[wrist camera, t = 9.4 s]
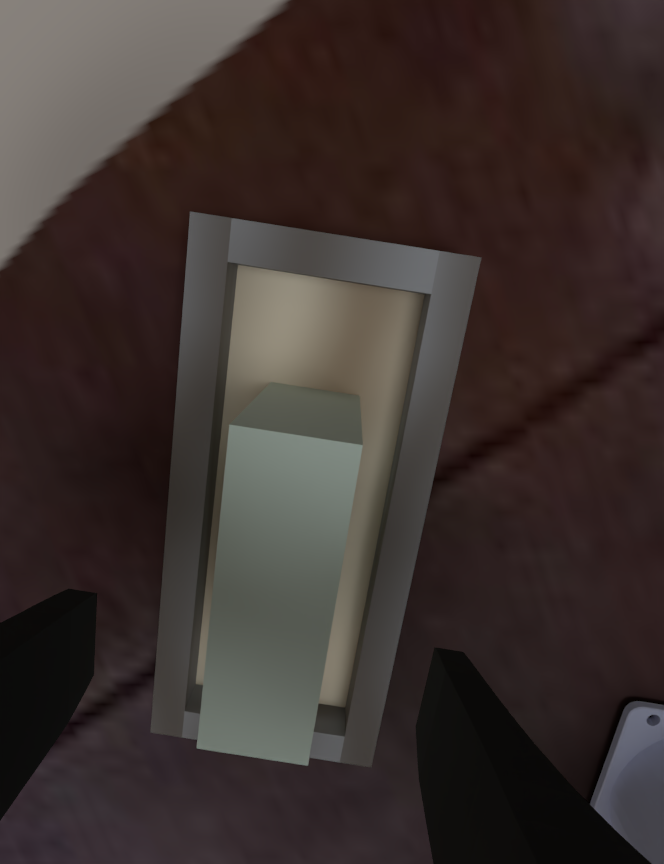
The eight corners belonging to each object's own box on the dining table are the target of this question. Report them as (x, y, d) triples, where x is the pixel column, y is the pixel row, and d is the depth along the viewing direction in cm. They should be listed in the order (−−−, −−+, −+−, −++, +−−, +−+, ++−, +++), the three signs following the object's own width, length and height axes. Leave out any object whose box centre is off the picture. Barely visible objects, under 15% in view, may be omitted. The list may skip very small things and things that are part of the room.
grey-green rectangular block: (359, 395, 17) (363, 445, 11) (321, 626, 20) (307, 765, 14) (271, 381, 17) (229, 424, 11) (243, 614, 20) (196, 748, 14)
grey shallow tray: (465, 262, 17) (481, 257, 15) (369, 721, 22) (371, 767, 19) (210, 222, 17) (190, 211, 15) (170, 689, 22) (150, 732, 19)
